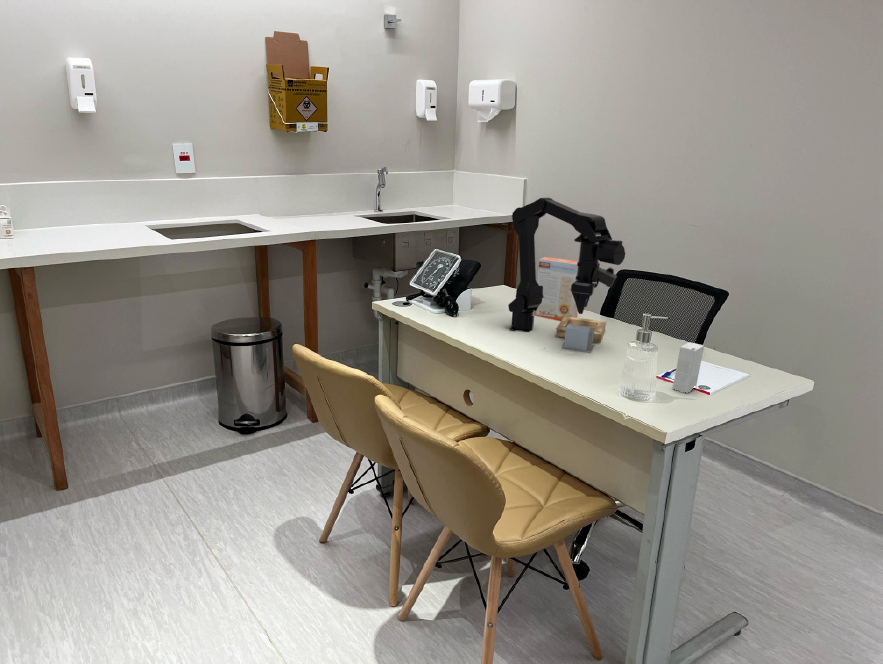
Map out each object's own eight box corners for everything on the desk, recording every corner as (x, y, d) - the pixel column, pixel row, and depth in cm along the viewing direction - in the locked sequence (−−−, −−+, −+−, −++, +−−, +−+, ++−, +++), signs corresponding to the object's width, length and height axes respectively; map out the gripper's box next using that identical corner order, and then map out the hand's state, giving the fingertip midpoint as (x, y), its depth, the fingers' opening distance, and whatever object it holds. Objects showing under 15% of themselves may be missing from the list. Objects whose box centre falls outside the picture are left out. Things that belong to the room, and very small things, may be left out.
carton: (554, 338, 218) (556, 327, 217) (563, 325, 233) (564, 315, 232) (599, 345, 214) (601, 334, 213) (605, 331, 229) (606, 320, 228)
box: (563, 346, 210) (566, 327, 208) (566, 342, 214) (568, 324, 212) (590, 350, 207) (592, 331, 206) (592, 346, 212) (594, 327, 210)
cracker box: (577, 320, 241) (584, 261, 234) (570, 324, 236) (577, 264, 229) (540, 313, 248) (546, 255, 241) (533, 316, 243) (539, 257, 237)
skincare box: (680, 384, 185) (687, 341, 182) (697, 388, 183) (704, 345, 179) (671, 389, 181) (678, 345, 177) (688, 394, 178) (696, 350, 175)
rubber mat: (560, 349, 208) (560, 348, 208) (565, 341, 216) (565, 340, 216) (590, 354, 205) (591, 353, 205) (594, 346, 214) (594, 344, 213)
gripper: (613, 267, 192) (606, 321, 196) (619, 256, 209) (612, 306, 214) (573, 263, 195) (567, 316, 200) (582, 252, 212) (576, 302, 217)
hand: (582, 310), depth 207 cm, fingers open, 9 cm apart
